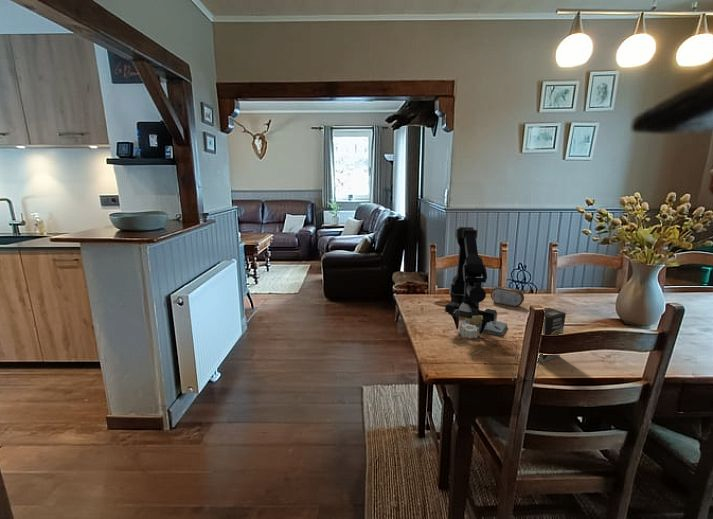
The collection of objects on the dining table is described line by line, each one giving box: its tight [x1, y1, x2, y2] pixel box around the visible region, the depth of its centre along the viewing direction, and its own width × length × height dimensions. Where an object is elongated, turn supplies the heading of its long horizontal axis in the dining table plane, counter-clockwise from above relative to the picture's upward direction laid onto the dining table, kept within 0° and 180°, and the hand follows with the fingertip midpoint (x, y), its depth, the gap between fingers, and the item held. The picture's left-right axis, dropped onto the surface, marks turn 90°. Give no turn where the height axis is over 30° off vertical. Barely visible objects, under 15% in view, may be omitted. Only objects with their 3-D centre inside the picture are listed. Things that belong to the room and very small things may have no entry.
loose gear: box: [458, 324, 480, 340], centre depth 145 cm, size 7×7×3 cm
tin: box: [490, 285, 525, 307], centre depth 179 cm, size 15×3×8 cm, turn 58°
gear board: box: [460, 315, 508, 337], centre depth 152 cm, size 16×11×6 cm
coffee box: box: [537, 307, 567, 363], centre depth 127 cm, size 9×6×16 cm
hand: (468, 331), depth 145 cm, fingers open, 9 cm apart
